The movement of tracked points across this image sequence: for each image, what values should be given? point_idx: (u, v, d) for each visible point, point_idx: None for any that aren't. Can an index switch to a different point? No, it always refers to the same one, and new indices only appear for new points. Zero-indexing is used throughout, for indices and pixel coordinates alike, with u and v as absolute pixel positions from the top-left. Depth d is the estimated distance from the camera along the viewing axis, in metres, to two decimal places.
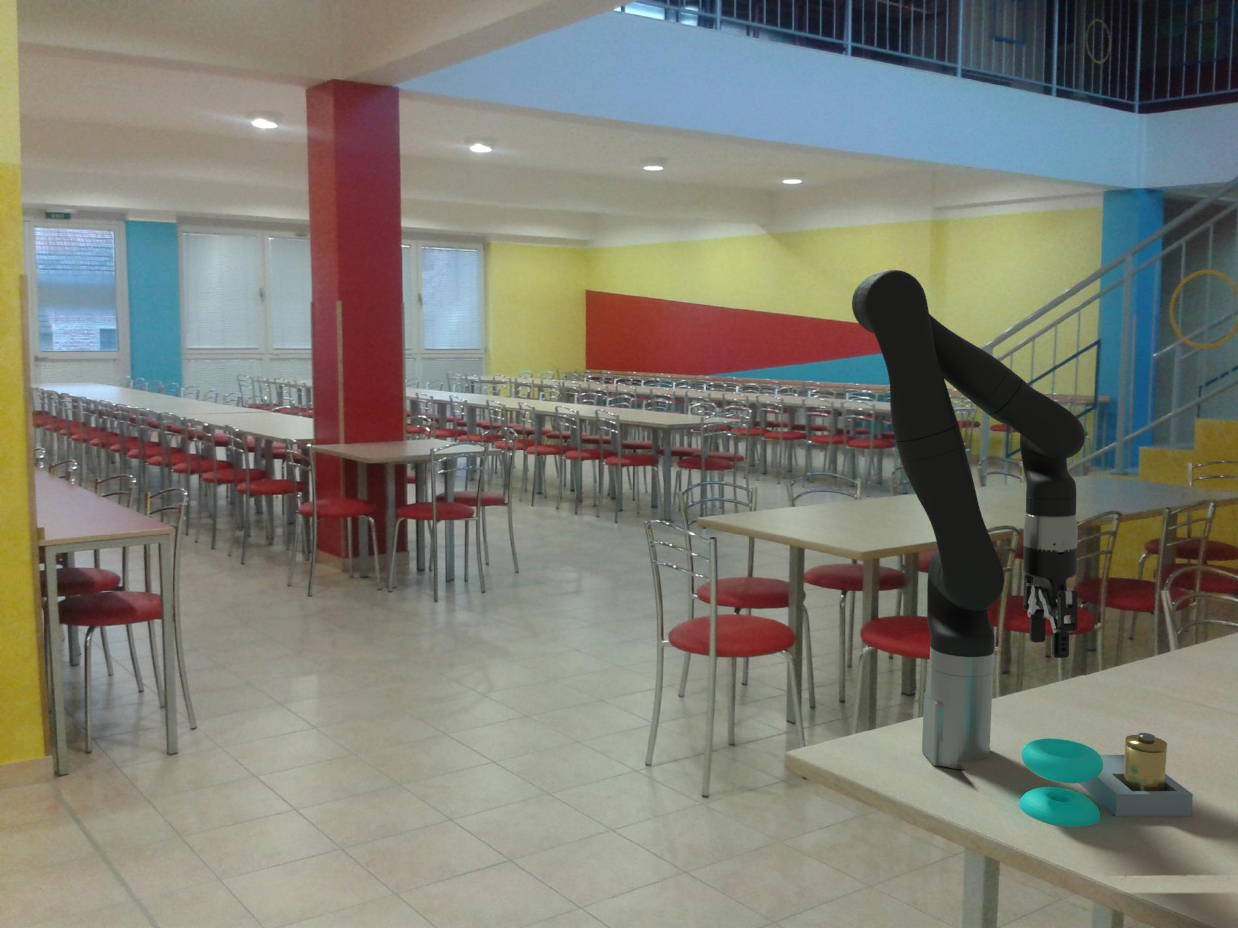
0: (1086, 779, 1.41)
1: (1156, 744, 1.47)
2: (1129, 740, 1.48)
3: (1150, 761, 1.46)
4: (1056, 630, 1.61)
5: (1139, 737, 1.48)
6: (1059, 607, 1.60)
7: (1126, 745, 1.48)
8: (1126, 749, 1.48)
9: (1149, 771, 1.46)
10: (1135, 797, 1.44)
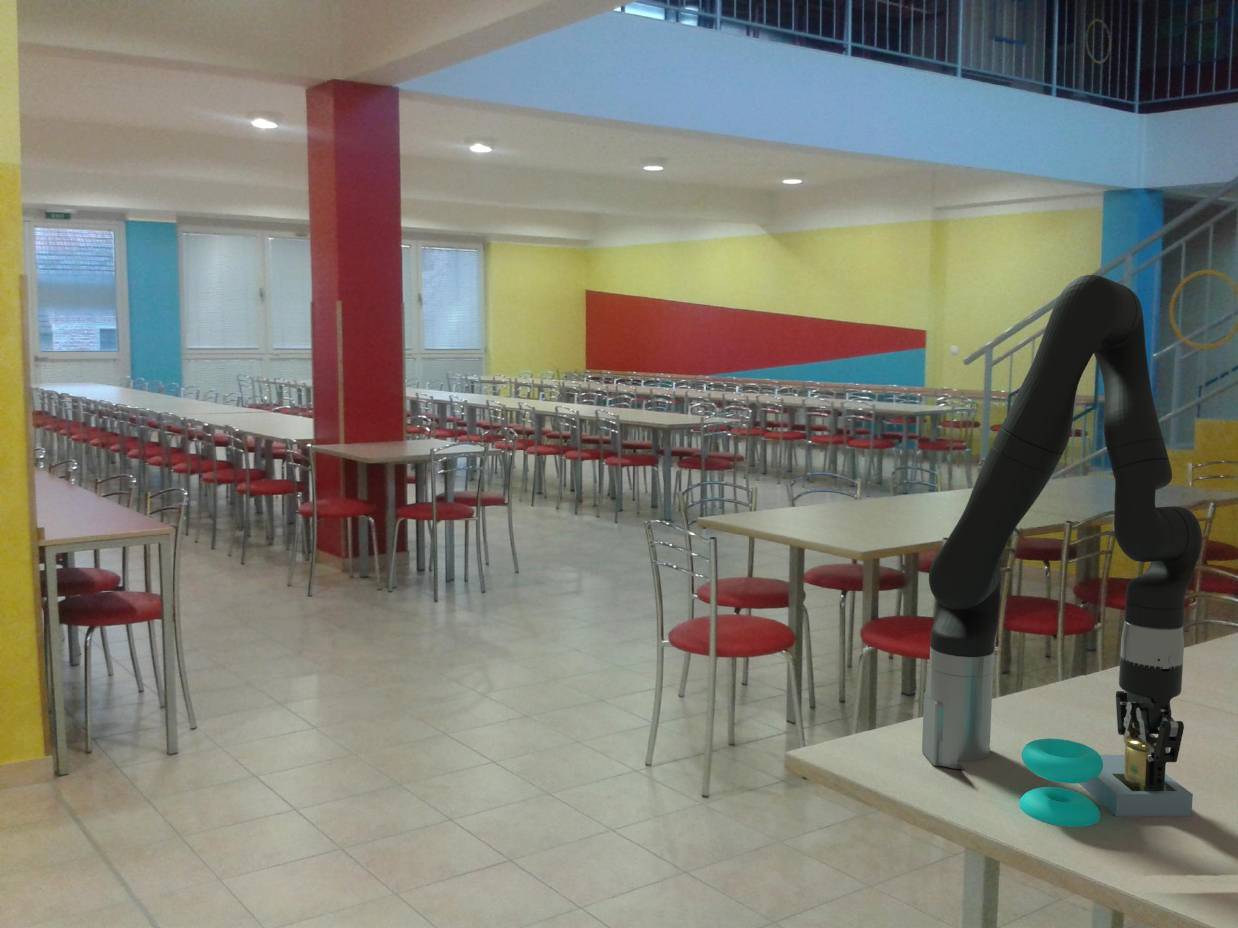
0: (1086, 779, 1.41)
1: None
2: (1129, 740, 1.48)
3: None
4: (1152, 759, 1.44)
5: (1139, 737, 1.48)
6: (1161, 737, 1.42)
7: (1126, 745, 1.48)
8: (1126, 749, 1.48)
9: None
10: (1135, 797, 1.44)
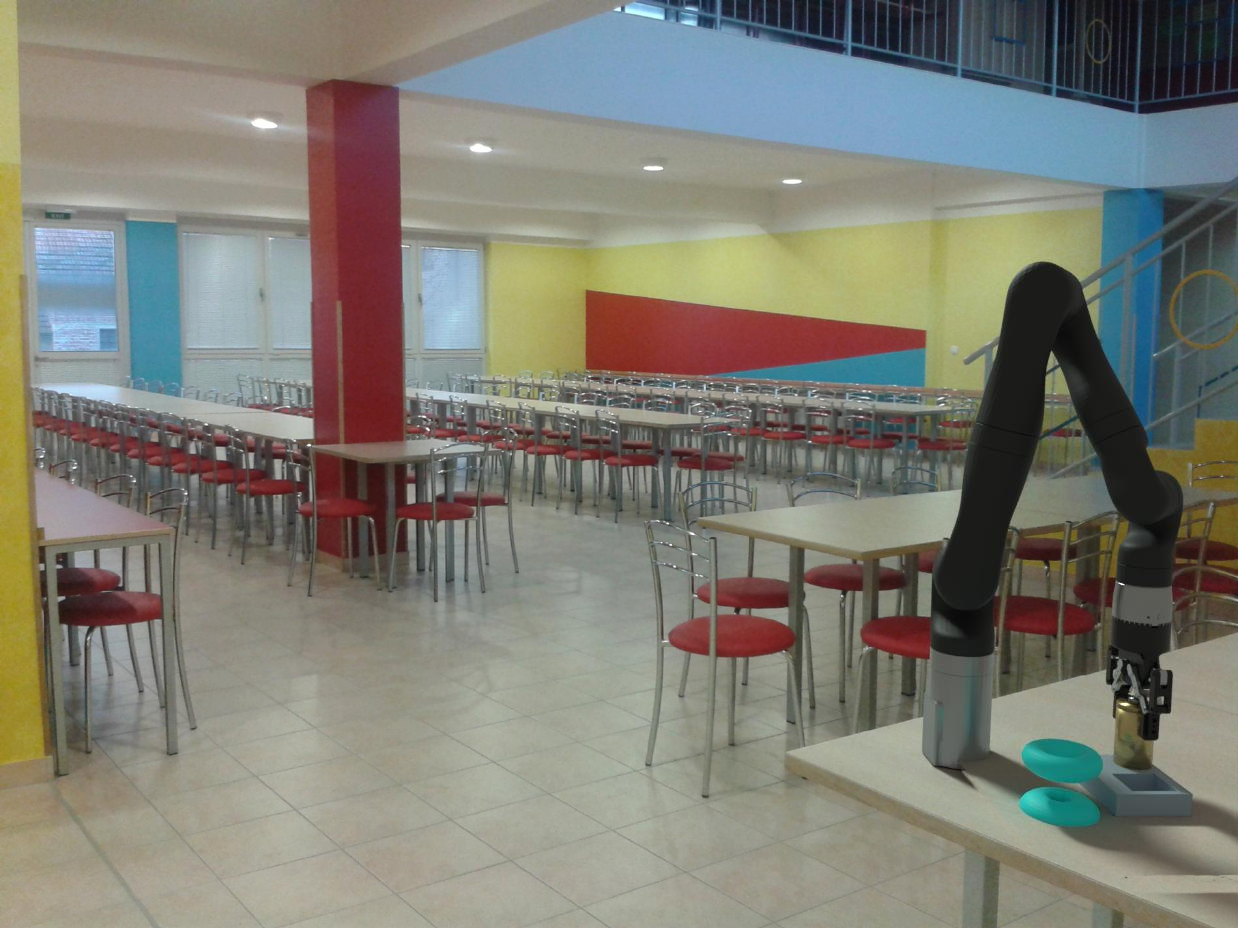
0: (1086, 779, 1.41)
1: None
2: (1120, 702, 1.54)
3: (1139, 722, 1.52)
4: (1146, 711, 1.49)
5: (1129, 699, 1.54)
6: (1152, 687, 1.47)
7: (1117, 707, 1.55)
8: (1117, 711, 1.55)
9: (1139, 732, 1.52)
10: (1135, 797, 1.44)
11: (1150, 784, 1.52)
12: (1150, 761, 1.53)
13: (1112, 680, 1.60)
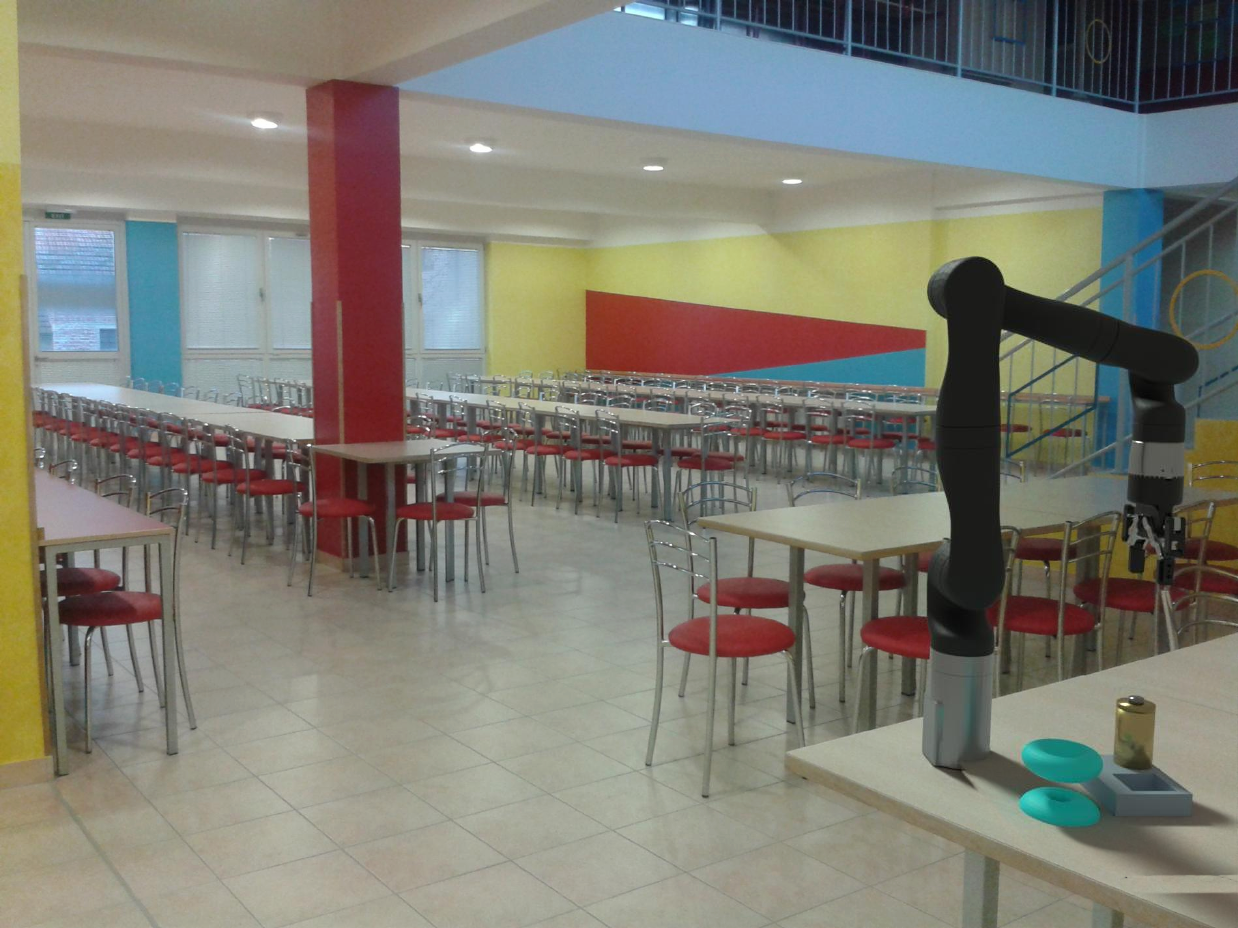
0: (1086, 779, 1.41)
1: (1145, 706, 1.53)
2: (1120, 702, 1.54)
3: (1139, 722, 1.52)
4: (1162, 557, 1.60)
5: (1129, 699, 1.54)
6: (1167, 532, 1.59)
7: (1117, 707, 1.55)
8: (1117, 711, 1.55)
9: (1139, 732, 1.52)
10: (1135, 797, 1.44)
11: (1150, 784, 1.52)
12: (1150, 761, 1.53)
13: (1127, 537, 1.71)
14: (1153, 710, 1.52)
